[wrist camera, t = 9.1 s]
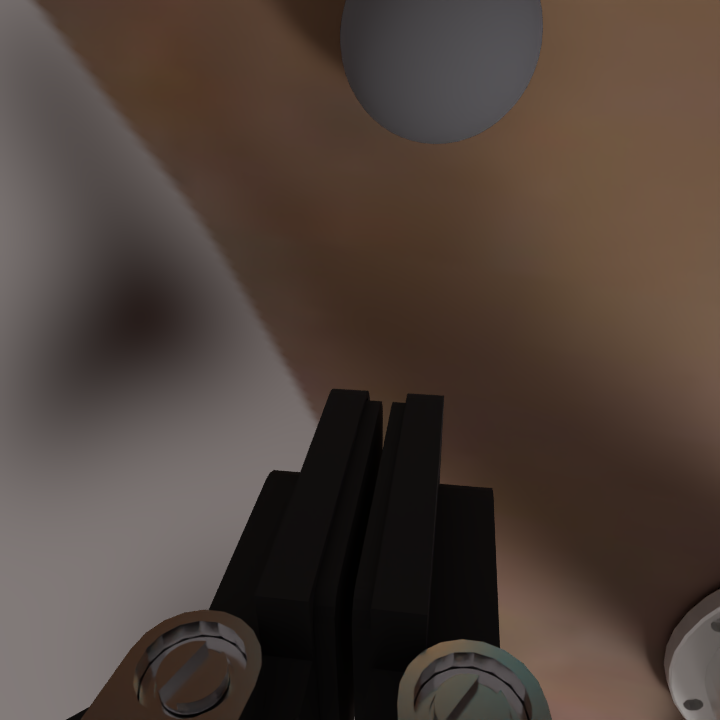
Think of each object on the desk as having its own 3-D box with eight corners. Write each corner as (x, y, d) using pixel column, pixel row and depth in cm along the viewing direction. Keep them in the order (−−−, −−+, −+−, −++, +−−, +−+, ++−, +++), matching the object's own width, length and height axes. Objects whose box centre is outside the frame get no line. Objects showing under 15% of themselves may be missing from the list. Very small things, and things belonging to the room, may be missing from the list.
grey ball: (568, -54, 14) (550, -104, 18) (314, -49, 15) (350, -98, 18) (533, 181, 18) (524, 98, 22) (332, 176, 18) (359, 97, 22)
